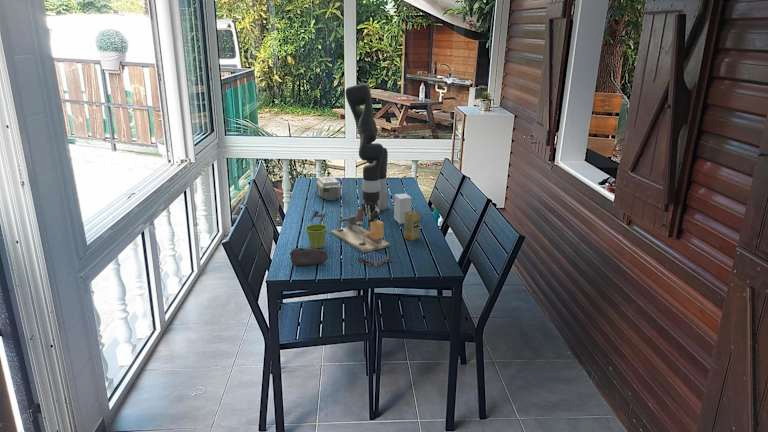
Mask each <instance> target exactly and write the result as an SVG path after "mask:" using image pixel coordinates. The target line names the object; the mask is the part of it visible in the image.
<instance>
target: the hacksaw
mask: <svg viewBox="0 0 768 432" xmlns="http://www.w3.org/2000/svg"><path fill="white" fill-rule="evenodd" d="M325 215H328V213H326V212H325V213H324V212H323V213H322V214H319V211H318V210H314V212H313V215H312V217H311V218H310V220H309V223H312V222H313V221H314V219H315V217H320V218H319V222H318V224H322V225H324V224H323V220H324V217H325Z"/></svg>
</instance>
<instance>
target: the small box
mask: <svg viewBox="0 0 768 432" xmlns="http://www.w3.org/2000/svg"><path fill="white" fill-rule="evenodd" d="M393 197H394V199H393V200H394V201H393V219H394V220H395V221H396V222H397V223H398V224H399V225H401V224H403V225H404V213H406V212H409V211H413V210H412V209H413V208H412V207H413V206H412V205H413V202H412V201H413V197H411V196H410V195H408V194H407V193H397V194H396V193H395V194H394V195H393Z"/></svg>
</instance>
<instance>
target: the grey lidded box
mask: <svg viewBox="0 0 768 432" xmlns="http://www.w3.org/2000/svg"><path fill="white" fill-rule="evenodd" d="M316 179H317V180H316V182H315V183H316V192H317V193H318V196H319V197H321V198H322V199H323V200H327V201H336V200H337V198H340V197H341V192H342V191H341V188H342V185H341V184H340V183H339V180H337V179H336V178H335V177H334V176H332V175H331V176H318V177H317V178H316Z"/></svg>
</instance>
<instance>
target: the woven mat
mask: <svg viewBox="0 0 768 432" xmlns="http://www.w3.org/2000/svg"><path fill="white" fill-rule="evenodd" d="M357 261H359V262H360V263H363V264H365V265H367V266H369V267H372V268H375V269H376V267H379V266H381V265H383V264H385V263H389V261H390V262H391V261H392V258H391V257H390V255H387V254H385V253H382V252H379V251H377V250H373V251H370V252H367V253H366V254H364V253H363V255H361V256H358V258H357Z"/></svg>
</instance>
